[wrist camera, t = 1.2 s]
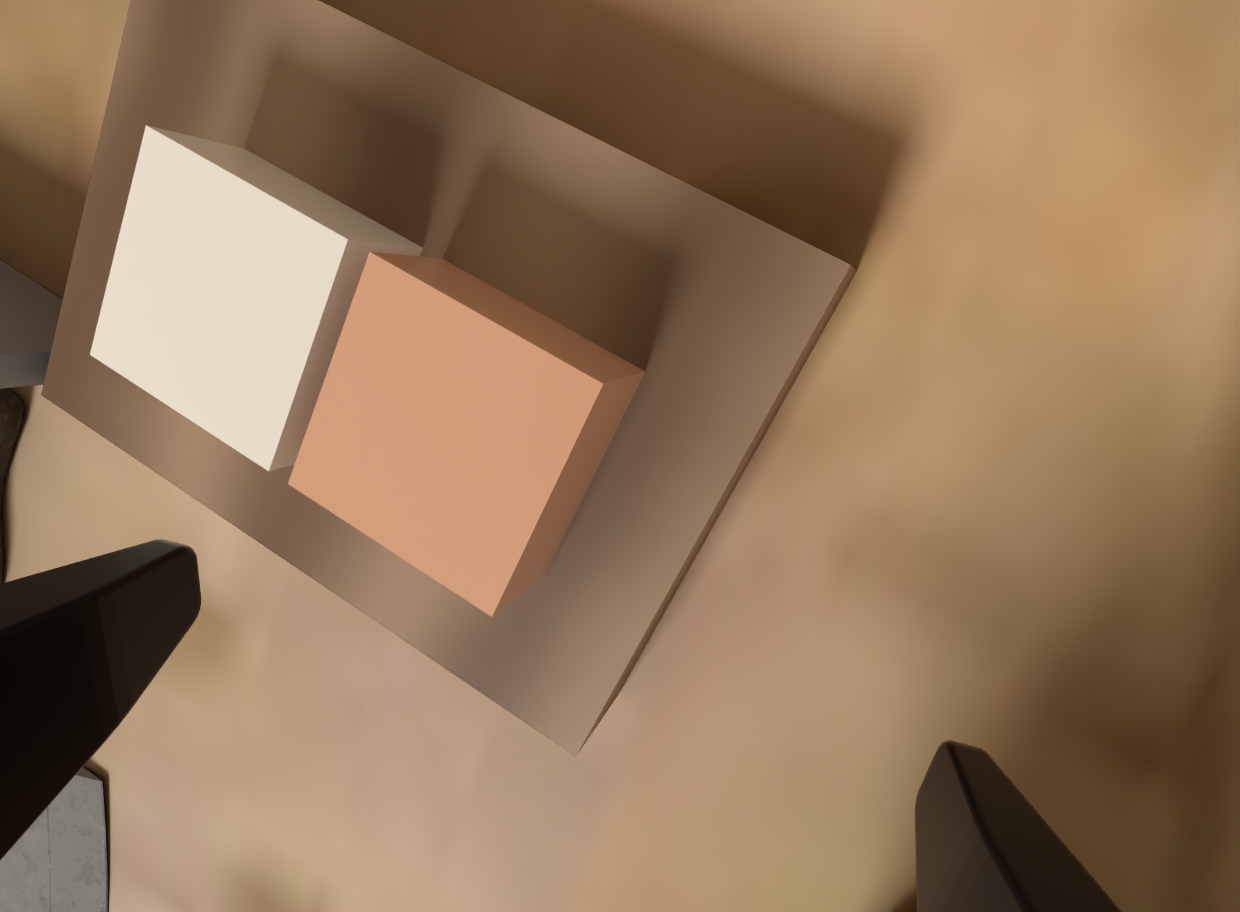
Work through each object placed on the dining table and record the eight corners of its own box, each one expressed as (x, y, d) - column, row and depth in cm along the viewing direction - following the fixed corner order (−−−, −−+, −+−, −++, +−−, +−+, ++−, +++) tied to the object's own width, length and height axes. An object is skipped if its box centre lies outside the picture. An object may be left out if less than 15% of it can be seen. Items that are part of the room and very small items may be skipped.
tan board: (856, 270, 17) (851, 264, 14) (618, 695, 21) (575, 756, 18) (252, -31, 20) (149, -84, 17) (140, 384, 24) (40, 394, 21)
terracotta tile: (645, 371, 16) (603, 383, 13) (545, 574, 17) (491, 616, 15) (441, 258, 17) (369, 251, 14) (364, 460, 18) (287, 483, 16)
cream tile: (423, 248, 17) (348, 239, 14) (347, 449, 18) (269, 471, 16) (243, 148, 18) (145, 125, 15) (186, 348, 19) (89, 354, 17)
